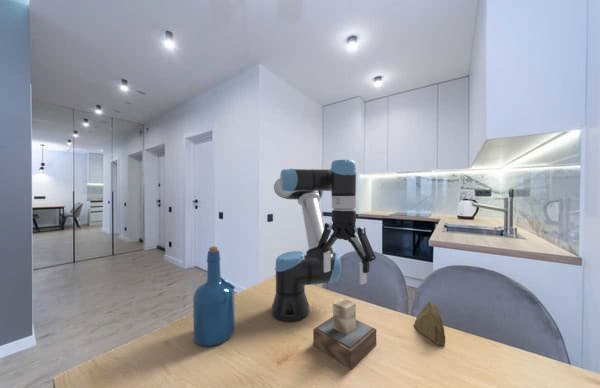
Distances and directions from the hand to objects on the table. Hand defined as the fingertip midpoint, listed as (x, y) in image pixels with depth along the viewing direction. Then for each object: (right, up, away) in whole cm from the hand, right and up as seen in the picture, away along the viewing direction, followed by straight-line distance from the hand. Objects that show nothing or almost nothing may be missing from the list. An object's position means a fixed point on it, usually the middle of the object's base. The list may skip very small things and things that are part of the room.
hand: (344, 276), depth 71 cm
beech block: (0, -16, 0) cm, 16 cm away
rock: (+29, -21, +4) cm, 37 cm away
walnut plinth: (0, -21, 0) cm, 21 cm away
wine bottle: (-43, -22, +6) cm, 48 cm away
